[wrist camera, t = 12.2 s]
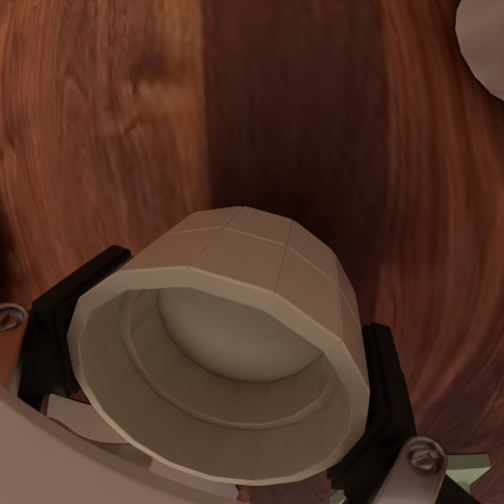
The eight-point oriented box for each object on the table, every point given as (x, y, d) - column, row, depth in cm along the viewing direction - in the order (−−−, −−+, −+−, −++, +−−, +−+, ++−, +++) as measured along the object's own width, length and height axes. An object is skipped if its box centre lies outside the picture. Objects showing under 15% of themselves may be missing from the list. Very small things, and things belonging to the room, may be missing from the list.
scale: (489, 453, 20) (497, 478, 17) (431, 499, 25) (433, 521, 22) (379, 451, 21) (381, 485, 18) (328, 497, 26) (326, 523, 23)
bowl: (387, 242, 9) (435, 335, 5) (311, 403, 12) (300, 501, 8) (158, 178, 9) (55, 221, 5) (144, 350, 12) (88, 429, 8)
